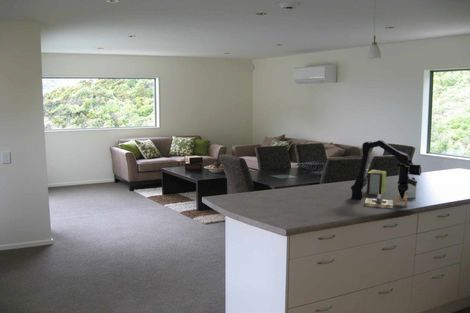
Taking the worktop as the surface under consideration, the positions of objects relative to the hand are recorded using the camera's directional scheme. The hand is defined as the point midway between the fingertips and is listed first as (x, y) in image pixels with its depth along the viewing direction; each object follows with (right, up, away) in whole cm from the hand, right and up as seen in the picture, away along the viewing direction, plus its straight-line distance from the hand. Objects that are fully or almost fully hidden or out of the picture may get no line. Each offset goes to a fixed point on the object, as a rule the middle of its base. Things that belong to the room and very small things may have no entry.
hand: (401, 197), depth 319 cm
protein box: (-6, 0, +39) cm, 39 cm away
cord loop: (0, -5, +1) cm, 5 cm away
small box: (+13, -2, +27) cm, 30 cm away
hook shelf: (-15, -5, +1) cm, 15 cm away
